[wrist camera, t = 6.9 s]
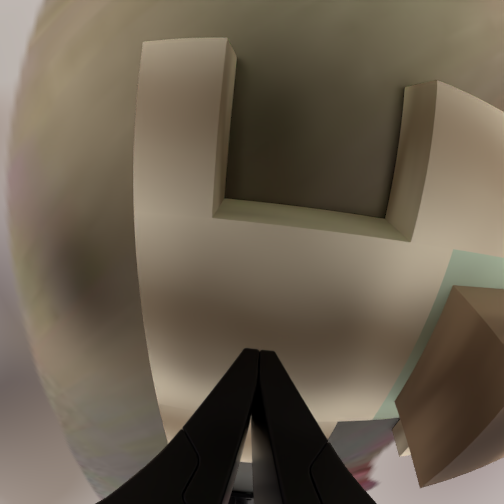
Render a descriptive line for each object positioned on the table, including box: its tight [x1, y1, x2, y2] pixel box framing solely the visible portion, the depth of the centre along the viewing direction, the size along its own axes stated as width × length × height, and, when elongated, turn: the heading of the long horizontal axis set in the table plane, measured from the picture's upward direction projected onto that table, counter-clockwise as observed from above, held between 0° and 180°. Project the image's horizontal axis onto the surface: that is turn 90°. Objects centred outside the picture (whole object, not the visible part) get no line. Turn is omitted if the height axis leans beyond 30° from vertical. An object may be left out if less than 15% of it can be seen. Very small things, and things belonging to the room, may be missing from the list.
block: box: [394, 285, 504, 488], centre depth 6 cm, size 5×5×4 cm
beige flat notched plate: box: [133, 37, 504, 463], centre depth 9 cm, size 16×14×2 cm
